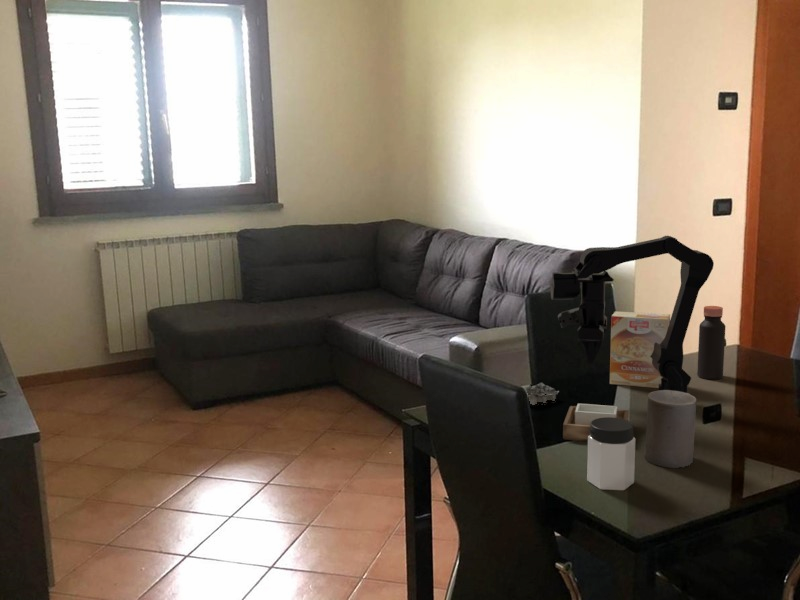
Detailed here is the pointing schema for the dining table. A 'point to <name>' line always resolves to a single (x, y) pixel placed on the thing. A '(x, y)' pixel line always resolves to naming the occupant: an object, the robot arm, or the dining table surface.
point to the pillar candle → (670, 428)
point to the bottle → (711, 344)
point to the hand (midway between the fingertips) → (591, 359)
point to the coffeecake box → (636, 347)
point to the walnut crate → (582, 431)
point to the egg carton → (541, 393)
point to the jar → (611, 454)
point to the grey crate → (593, 413)
